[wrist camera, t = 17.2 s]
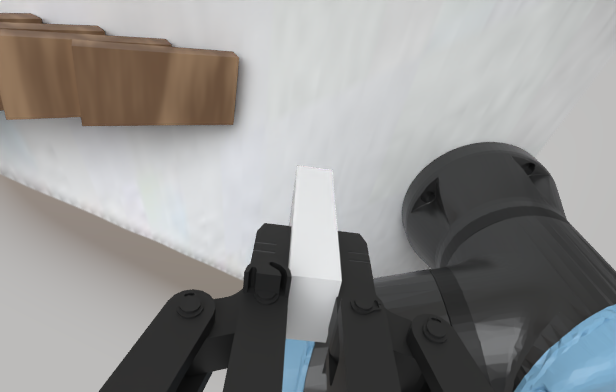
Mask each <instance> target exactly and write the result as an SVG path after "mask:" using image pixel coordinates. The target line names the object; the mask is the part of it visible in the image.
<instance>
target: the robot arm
mask: <svg viewBox="0 0 616 392" xmlns="http://www.w3.org/2000/svg"><path fill="white" fill-rule="evenodd" d="M402 220H403V225H404V228H405V231H406V234H407V237H408V240H409V242H410V244H411V246H412V248H413V249H414V251H415V252H416V253H417V254H418V256H419V257H420V258H421V259H422V260H423V261H424V262H425V263H426V264H427V265H428V266H429V267H430V268H431V269H430V270H422V271H416V272H410V273H404V274H398V275H392V276H386V277H380V278H374V279H373V275H372V270H371V264H370V259H369V255H368V254H369V253H368V248H367V243H366V242H365V240H364V239H363V238H362V236H361V235H360V234H358V233H349V232H341V231H338V230H337V218H336V207H335V195H334V183H333V171H332V170H330V169H323V168H315V167H307V166H300V165H297V171H296V178H295V185H294V192H293V199H292V206H291V213H290V222H289V226H284V225H276V224H267V223H264V224H263V225H262V226H261V228H260V229H259V230H258V231H257V234H256V239H255V244H254V249H253V254H252V259H251V263H250V264H249V265H248V266H247V268H246V270H245V272H244V285H243V289H242V290H241V291H239V292H238V293H236V294H234V295H232V296H229V297H225V298H219V299H213V298H212V297H211V296H210V295H209V294H207V293H205V292H203V291H200V290H186V291H182V292H180V293H177V294H175V295H174V296H173V297H172V298H171V299H170V300H168V302H167V303H166V304H165V305H164V307H163V308H162V309H161V311H160V312H159V313H158V315H157V316H156V317H155V319H154V320H153V321H152V322H151V324H150V325H149V326H148V328H147V329H146V330H145V332H144V333H143V334H142V335H141V337H140V338H139V339H138V341H137V342H136V344H135V345H134V346H133V347H132V349H131V350H130V352H128V354H127V355H126V357H125V358H124V359H123V361H122V362H121V363H120V364H119V366H118V367H117V368H116V370H115V371H114V372H113V374H112V375H111V376H110V377H109V379H108V380H107V381H106V383H105V384H104V385H103V387H102V388H101V389H100V390H99V392H203V390H204V388H205V386H206V384H207V382H208V380H209V378H210V376H211V374H212V372H213V371H216V370H221V369H226V368H228V369H227V374H226V378H225V384H224V388H223V392H616V271H615V270H614V269H613V268H612V267H611V266H610V265H609V264H608V263H607V262H606V261H605V260H604V259H603V257H601V255H600V254H599V253H598V252H597V251H596V250H595V249H594V248H593V247H592V246H591V245H590V244H589V243H588V242H587V241H586V240H585V239H584V238H583V237H582V236H581V235H580V234H579V232H578V231H577V230H575V228H574V227H572V225H571V224H570V223H569V222H568V221H567V219H566V216H565V213H564V210H563V207H562V203H561V200H560V197H559V193H558V190H557V187H556V184H555V182H554V180H553V178H552V176H551V175H550V173H549V172H548V171H547V170H546V168H545V167H544V166H543V165H541V164H540V163H539V162H538V161H537V160H536V159H535V158H534V157H533V156H532V155H531V154H529V153H528V152H526V151H525V150H523V149H521V148H518V147H516V146H513V145H509V144H505V143H497V142H484V143H475V144H470V145H466V146H463V147H460V148H457V149H454V150H452V151H450V152H448V153H446V154H444V155H442V156H440V157H439V158H437V159H436V160H434V161H433V162H431V163H430V164H429V165H428V166H426V167H425V168H424V169H423V170H422V171H421V172H420V173H419V174H418V176H417V177H416V178H415V179H414V181H413V182H412V184H411V185H410V187H409V189H408V191H407V193H406V196H405V199H404V202H403V207H402Z"/></svg>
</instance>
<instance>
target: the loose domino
mask: <svg viewBox="0 0 616 392" xmlns="http://www.w3.org/2000/svg"><path fill="white" fill-rule="evenodd" d="M72 53H73V61H74V68H75V75H76V83H77V90H78V98H79V105H80V112H81V120H82V126H138V125H233V122H234V111H235V99H236V87H237V76H238V64H239V57H238V56H237V55H236V54H235V53H234V52H230V51H217V50H204V49H192V48H179V47H166V46H153V45H140V44H127V43H114V42H101V41H89V40H76V39H72Z"/></svg>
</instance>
